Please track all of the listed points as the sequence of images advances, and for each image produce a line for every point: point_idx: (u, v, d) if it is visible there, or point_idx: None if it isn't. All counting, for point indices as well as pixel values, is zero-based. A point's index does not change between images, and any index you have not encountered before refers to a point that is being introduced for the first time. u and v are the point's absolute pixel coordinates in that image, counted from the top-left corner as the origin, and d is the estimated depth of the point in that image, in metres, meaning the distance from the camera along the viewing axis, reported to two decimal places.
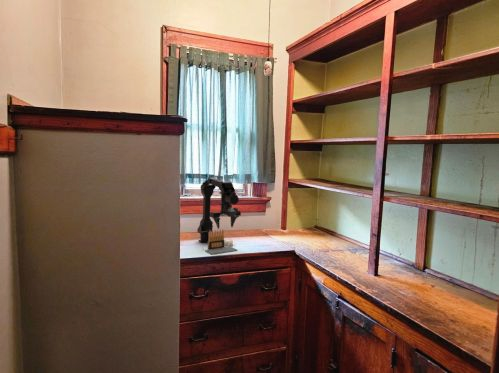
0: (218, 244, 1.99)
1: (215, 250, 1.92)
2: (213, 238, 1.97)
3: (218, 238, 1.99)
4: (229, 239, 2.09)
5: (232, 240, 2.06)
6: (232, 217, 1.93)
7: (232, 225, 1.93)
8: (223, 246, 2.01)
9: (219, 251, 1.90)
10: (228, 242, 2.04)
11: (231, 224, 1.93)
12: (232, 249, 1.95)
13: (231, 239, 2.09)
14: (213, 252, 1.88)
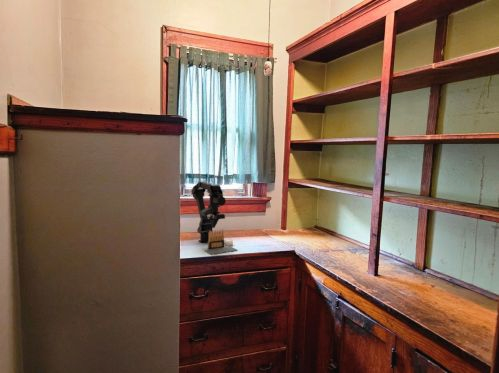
0: (218, 244, 1.99)
1: (215, 250, 1.92)
2: (213, 238, 1.97)
3: (218, 238, 1.99)
4: (229, 239, 2.09)
5: (232, 240, 2.06)
6: None
7: (212, 226, 2.03)
8: (223, 246, 2.01)
9: (219, 251, 1.90)
10: (228, 242, 2.04)
11: None
12: (232, 249, 1.95)
13: (231, 239, 2.09)
14: (213, 252, 1.88)
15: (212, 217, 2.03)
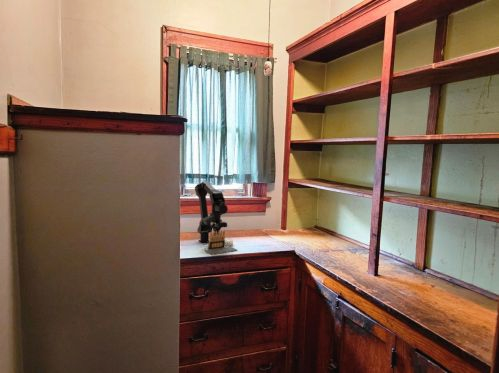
0: (218, 244, 1.99)
1: (215, 250, 1.92)
2: (214, 239, 1.96)
3: (219, 239, 1.97)
4: (229, 239, 2.09)
5: (232, 240, 2.06)
6: None
7: None
8: (223, 246, 2.00)
9: (219, 251, 1.90)
10: (228, 242, 2.04)
11: None
12: (232, 249, 1.95)
13: (231, 239, 2.09)
14: (213, 252, 1.88)
15: (214, 225, 1.99)
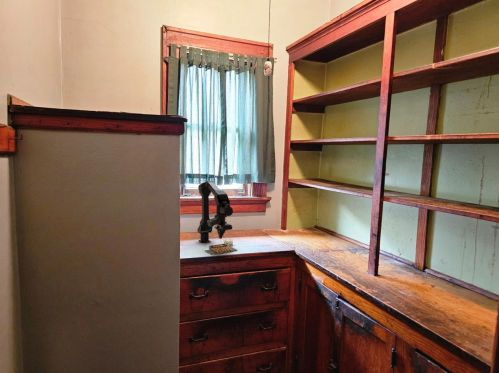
0: None
1: None
2: None
3: None
4: (229, 239, 2.09)
5: (232, 240, 2.07)
6: None
7: (219, 236, 1.93)
8: None
9: None
10: (228, 242, 2.04)
11: None
12: (232, 249, 1.95)
13: (231, 239, 2.09)
14: (213, 252, 1.88)
15: (219, 227, 1.94)
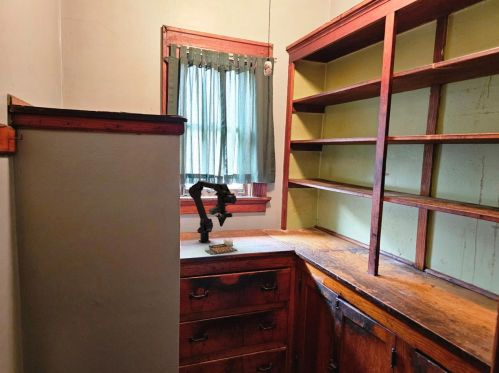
0: None
1: None
2: None
3: None
4: (229, 239, 2.09)
5: (232, 240, 2.07)
6: None
7: (220, 224, 2.05)
8: None
9: None
10: (229, 242, 2.04)
11: None
12: (232, 249, 1.95)
13: (231, 239, 2.09)
14: (213, 252, 1.88)
15: None
